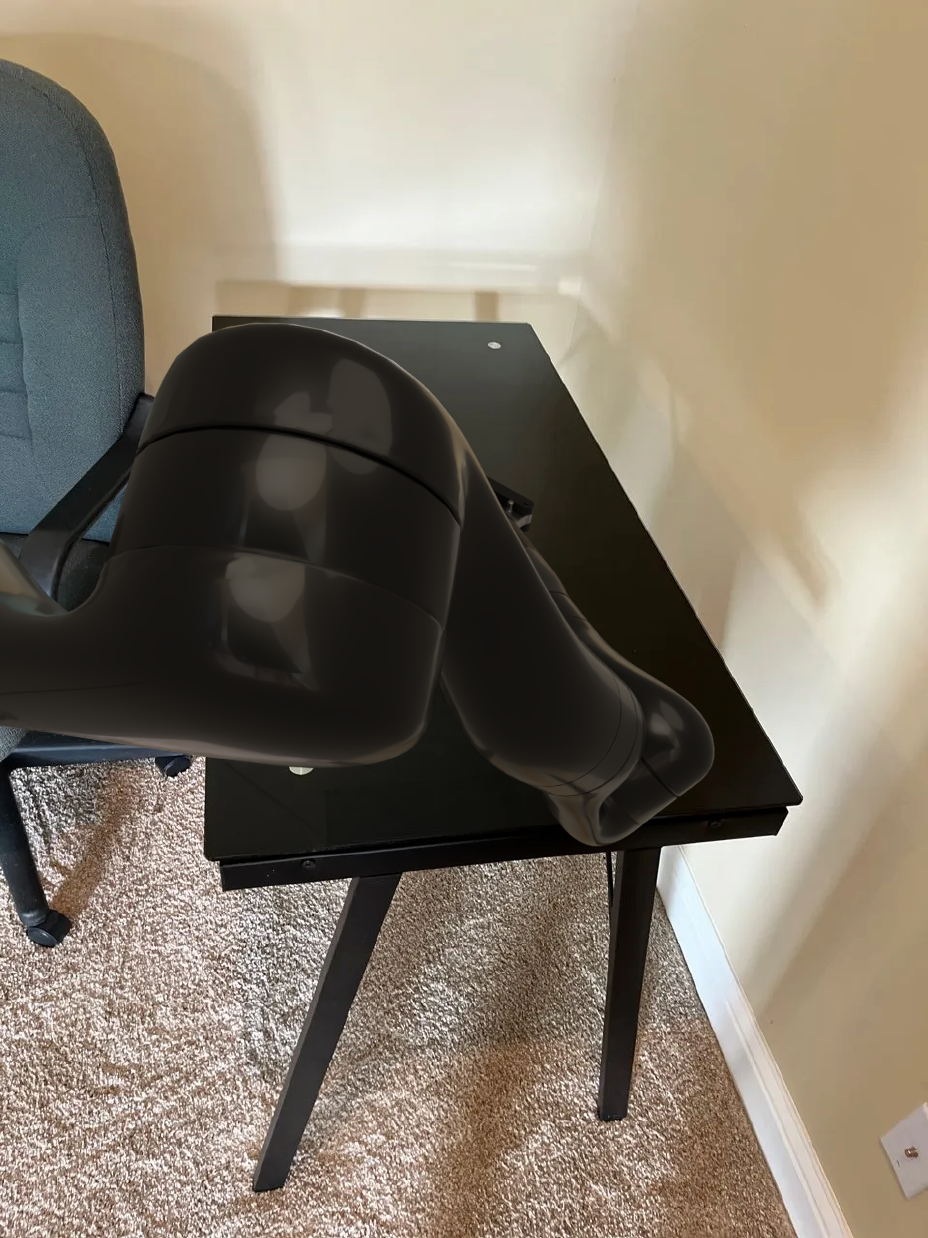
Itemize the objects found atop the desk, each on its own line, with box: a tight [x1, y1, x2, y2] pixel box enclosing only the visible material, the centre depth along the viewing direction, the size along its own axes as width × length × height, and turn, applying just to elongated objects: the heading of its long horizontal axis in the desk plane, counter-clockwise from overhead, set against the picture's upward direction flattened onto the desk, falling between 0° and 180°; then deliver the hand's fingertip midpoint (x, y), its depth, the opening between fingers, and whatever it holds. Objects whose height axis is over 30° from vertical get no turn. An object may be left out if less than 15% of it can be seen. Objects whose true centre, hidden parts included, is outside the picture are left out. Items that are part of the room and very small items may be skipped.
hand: (414, 465), depth 71 cm, fingers closed on lid, 3 cm apart
